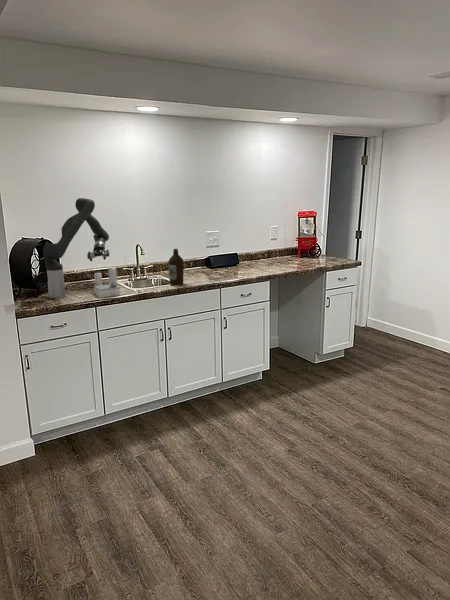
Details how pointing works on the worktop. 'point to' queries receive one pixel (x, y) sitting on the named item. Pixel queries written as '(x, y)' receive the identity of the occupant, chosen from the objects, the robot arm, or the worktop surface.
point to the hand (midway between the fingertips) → (97, 259)
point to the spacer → (98, 279)
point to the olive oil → (176, 268)
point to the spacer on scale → (112, 277)
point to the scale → (106, 290)
